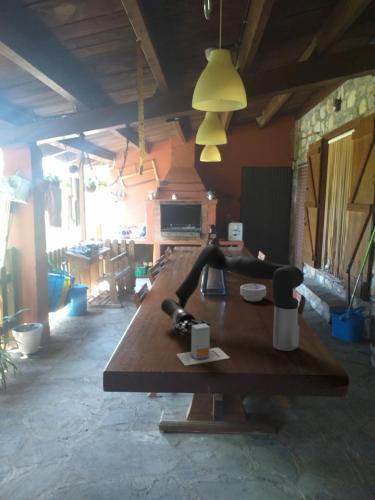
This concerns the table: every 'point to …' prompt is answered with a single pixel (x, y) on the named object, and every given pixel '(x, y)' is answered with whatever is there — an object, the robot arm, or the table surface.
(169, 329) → the table surface
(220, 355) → the paper sheet
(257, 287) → the paper bowls
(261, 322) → the table surface
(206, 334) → the skincare box
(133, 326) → the table surface
